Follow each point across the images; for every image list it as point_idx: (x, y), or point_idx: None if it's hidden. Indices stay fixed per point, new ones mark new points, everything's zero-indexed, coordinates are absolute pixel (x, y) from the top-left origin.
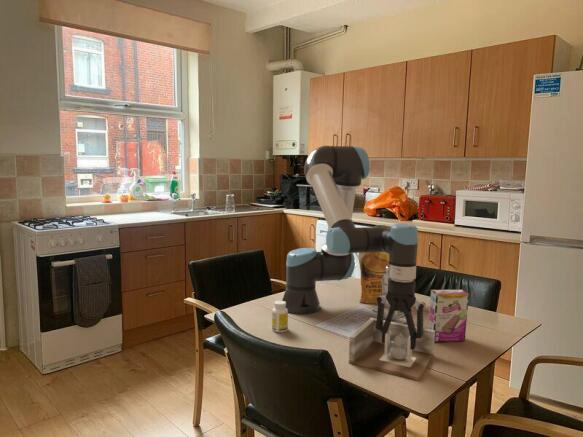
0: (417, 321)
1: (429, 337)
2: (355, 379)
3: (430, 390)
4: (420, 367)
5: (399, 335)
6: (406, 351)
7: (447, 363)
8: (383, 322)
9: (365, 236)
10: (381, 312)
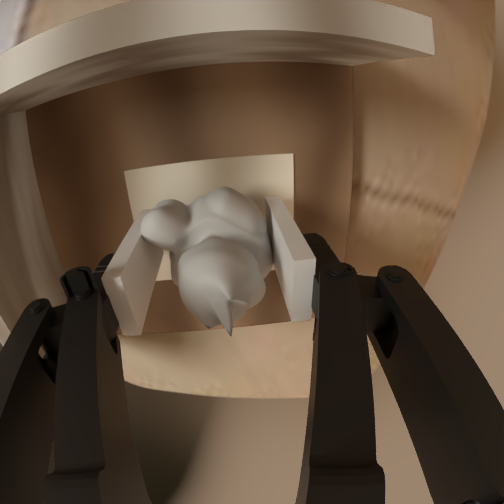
0: (412, 429)
1: (379, 53)
2: (163, 386)
3: None
4: (331, 241)
5: (220, 318)
6: (270, 265)
7: (410, 100)
8: None
9: None
10: (47, 470)
